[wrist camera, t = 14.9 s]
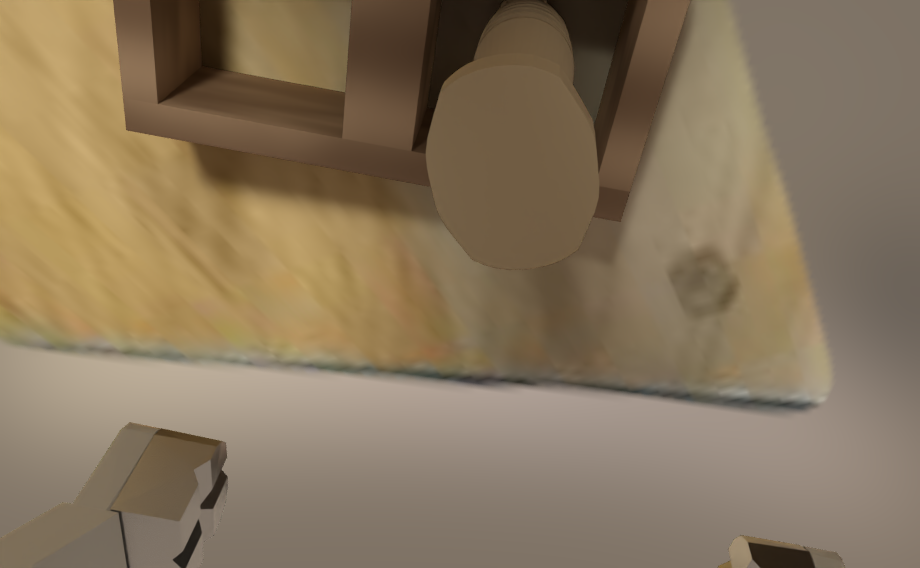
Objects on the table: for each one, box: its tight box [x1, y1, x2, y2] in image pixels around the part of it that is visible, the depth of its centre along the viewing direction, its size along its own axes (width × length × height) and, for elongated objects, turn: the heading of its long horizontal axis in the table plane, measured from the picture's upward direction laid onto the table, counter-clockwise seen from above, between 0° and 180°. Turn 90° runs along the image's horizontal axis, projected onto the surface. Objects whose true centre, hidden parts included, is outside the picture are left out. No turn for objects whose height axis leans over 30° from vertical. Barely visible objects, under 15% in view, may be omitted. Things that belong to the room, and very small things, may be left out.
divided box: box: [113, 0, 690, 222], centre depth 32 cm, size 12×22×5 cm, turn 81°
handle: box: [426, 0, 599, 270], centre depth 28 cm, size 5×6×15 cm
